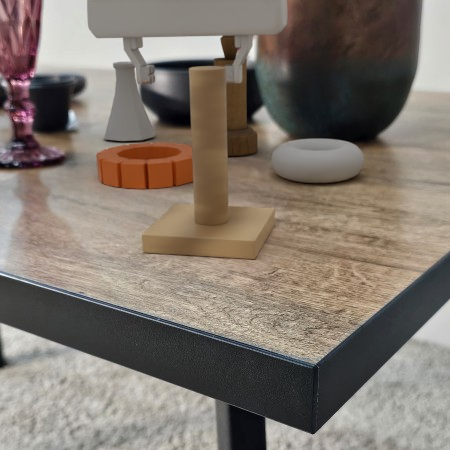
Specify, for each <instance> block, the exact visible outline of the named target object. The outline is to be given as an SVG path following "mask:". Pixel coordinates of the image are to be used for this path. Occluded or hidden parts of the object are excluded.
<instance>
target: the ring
mask: <svg viewBox="0 0 450 450" xmlns="http://www.w3.org/2000/svg"><path fill="white" fill-rule="evenodd" d="M95 156H96V157H95V158H96V166H97V178H98V180H99V182H101V183H102V184H103V185H106V186H110V185H111V186H110V187H114V186H115V188H118V187H119V188H122V189H132V190H133V189H134V190H135V189H136V190H145V189H147V188H148V189H149V190H151V189H152V190H153V189H155V190H156V189H164V188H165V189H166V188H173V187H174V186H175V187H178V186H182V185H185V184H189V183H193V165H192V144H185V143H179V142H178V143H175V142H158V141H157V142H153V143H151V142H141V143H140V142H139V143H129V144H122V145H117V146H116V145H115V146H112V147H108V148H104V149H102V150H101V151H99V152H97V153H96V155H95Z"/></svg>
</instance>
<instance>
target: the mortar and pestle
mask: <svg viewBox="0 0 450 450" xmlns="http://www.w3.org/2000/svg"><path fill="white" fill-rule="evenodd" d="M219 41H220V45H221V49H222V53H223V56H224V57H215V58H213V66H222V67H225V65H227V64H233V63H234V61H235V59H236V57H237V55H238V51H239V50H238V49H239V47H237V48H236V47H235V35H233V36H220V39H219ZM247 63H248V60H247V58H246V59H245V61H244V63H243V64H242V82H241V83H226V98H227V153H228V157H241V156H249V155H253V154H255V153H257V152H258V151H259V150H258V148H259V147H258V132H257V131H255V130H254V129H253V127H251V126H250V125H248V118H247V117H248V116H247V114H248V113H247V111H248V110H247V109H248V108H247V68H248V67H247Z"/></svg>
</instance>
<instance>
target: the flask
mask: <svg viewBox="0 0 450 450" xmlns="http://www.w3.org/2000/svg"><path fill="white" fill-rule="evenodd" d="M112 67H113V69H114V70H115V89H114V96H113V101H112V105H111V109H110V114H109V118H108V122H107V125H106V130H105V134H104V137H103V140H108V141H109V140H110V141H116V142H117V141H118V142H133V141H144V140H147V139H151V138H154V137H155V131H154V128H153V125H152V122H151V120H150V118H149V116H148V113H147V111H146V108H145V105H144V103H143V100H142V97H141V95H140V92H139V88H138V83H137V78H136V67H134V65H133V63H132V62H131V61H116V62H113V63H112Z"/></svg>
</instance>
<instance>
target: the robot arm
mask: <svg viewBox="0 0 450 450" xmlns="http://www.w3.org/2000/svg"><path fill="white" fill-rule="evenodd" d="M86 14H87V15H86V16H87V27H88V30H89V31H90V33H91V34H92V35H93V36H94V37H95V38H96V39H122V45H123V51H124V53H125V54H126V55H127V57H128V59H129V60H130V62H132V63H133V65H134V67H135V78H136V83H137V85H151V84H154V83H155V82H156V75H155V64H148V63H147V62H146V60H145V59H144V56H143V55H142V53H141V51H140V49H141V48H143V47H144V41H143V40H144V39H143V38H175V37H176V38H178V37H179V38H180V37H185V38H186V37H222V36H233V35H235V47H236V48H237V47H238V48H239V50H238V51H237V54H236V59H235V61H234V63H233V64H227V65H225V67H226V83H241V82H242V64H243V63H244V61H245V59H247V57H248V56H249V54H250V52H251V50H252V48H253V44H254V43H253V36H266V35H267V36H272V35H273V36H274V35H275V36H276V35H279V34H280V33H282V31H284V29H285V28H286V27H287V24H288V19H289V18H288V15H289V13H288V0H86Z"/></svg>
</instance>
